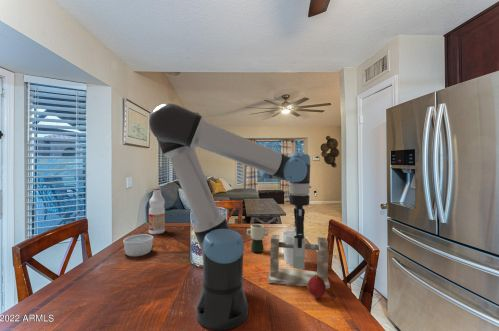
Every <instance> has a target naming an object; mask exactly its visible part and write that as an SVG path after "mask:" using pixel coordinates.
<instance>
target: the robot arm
mask: <svg viewBox="0 0 499 331" xmlns="http://www.w3.org/2000/svg"><path fill="white" fill-rule="evenodd" d="M148 120H149V121H148V122H149V129H150V131H151V133H152V135H153V136H154V137H155V138H156V140H157V142H158V146H159V148H160V149H161V150H160V151H161V153H162V155H163V156H164V157H166V158H168V159H169V161H170V163H171V165H172V167H173V170H174V173H175V175H176V178H177V180H178V183H179V185H180V188H181V190H182V192H183V195H184V197H185V200H186V202H187V205H188V208H189V211H190V212H191V214H192V217H193V220H194V222H195V225H194V227H193V232H194V235H195V238H196V240H197V243H198V244H199V248H200V250H201V256H202V262H203V263H202V264H203V266H202V268H203V269H202V273H203V274H202V288H201V289H202V290H201V293H200V296H199V299H198V301H197V303H196V304H197V305H196V320H197V322H198V323H199V324H200V325H201V326H202V327H204V328H206V329H208V330H212V331H227V330H231V329H234V328H237V327H239V326H240V325H242V324H243V323H244V322H245V321H246V320H247V318H248V315H249V304H248V303H249V302H248V300H247V297H246V292H245V291H244V287H243V280H244V279H243V278H244V277H243V276H244V275H243V274H244V273H243V272H244V269H243V268H244V249H245V248H244V247H245V246H244V240H243V239H244V238H243V237H242V235H241V234H240V233H239V231H238V232H237V231H236V230H233V229H230V226H229V223H228V221H227V218H226V216H225V215H224V214H221V213H220V212H219V210H218V206H217V204H216V202H215V199H214V197H213V194H212V192H211V188H210V186H209V184H208V181H207V178H206V176H205V173H204V171H203V168H202V166H201V163H200V160H199V158H198V156H197V153H196V150H195V149H196V147H198V148H200V149H203V150H205V151H208V152H209V153H210V152H211V153H213V154H216V155H218V156H221V157H224V158H226V159H229V160H231V161H234V162H237V163H239V164H242V165H245V166H247V167H249V168H253V169H254V170H258V172H259V175H260V177H261V178H262V179H265V180H266V179H267V180H270V179H271V180H277V181H284V182H285V181H286V182H289V193H290V194H289V197H288V198H289V201H288V202H289V204H290V205H292V206H295V208H293V216H294V231H295V232H296V236H294V238H296V250H295V256H300V257H303V243H304V237H305V230H304V229H305V225H304V224H305V223H304V222H305V212H306V210H305V208H304V206H305V207H306V206H309V205H310V197H311V196H310V195H309V194H310V189H311V188H312V186H311V184H310V183H311V166H312V165H311V156H310V155H309V154H308V153H291V154H290V156H288V155H286V154H283V153H281V152H278V151H276V150H274V149H272V148H269V147H267V146H265V145H263V144H260V143H257V142H255V141H253V140H251V139H247V138H245V137H243V136H241V135H238V134H236V133H234V132H231V131H229V130H227V129H225V128H222V127H219V126H217V125H215V124H213V123H210V122H208V121H206V120H205V118H204V116H203V115H200V114H198V113H195V112H193V111H192V110H189V109H187V108H185V107H183V106H181V105H178V104H176V103H175V104H174V103H162V104H160V105H159V106H157V107H155V108H154V109H153V111H152V112H151V113H150V116H149V119H148ZM298 234H302V235H298Z"/></svg>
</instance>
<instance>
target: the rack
mask: <svg viewBox="0 0 499 331" xmlns="http://www.w3.org/2000/svg"><path fill="white" fill-rule="evenodd" d="M280 248H294V244H293V243H287V242H282V241H280V234H271V236H270V257H269V258H270V259H269V261H270V262H269V267H270V268H269V272H268V273H269V274H268V279H267V280H268V281H267V283H268V284H270V283H274V284H273V285H280V284H286V285H285V286H291V285H298V286H297V287H301V286H308V282H309V280H310V279H311V278H312V277H314V276H315V274H317V275H318V276H319V277H320V278H322V280H323V281H324V283H325V285H326V288H330V289H331V285H330V284H331V283H330V281H329V279H328V271H329V270H328V265H329V264H328V263H329V242H328V239H327V238H326V237H317V244H315V243H314V244H311V243H305V250H312V251H317V264H316V268H317V269H316V270H317V271H313V270H304V269H291V268H279V267H280V266H279V264H280V263H279V262H280V261H279V260H280V259H279V258H280Z"/></svg>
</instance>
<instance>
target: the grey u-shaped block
mask: <svg viewBox="0 0 499 331" xmlns="http://www.w3.org/2000/svg"><path fill="white" fill-rule="evenodd" d="M298 235H302V234H298ZM294 236H296V232H293V244H294V248H293V265H292V268H293V269H295V270H305V259H306V258H305V255H306V253H305V252H306V249H305V244H306V238H305V236H304V243H303V257H300V256H295V250H296V238H294Z"/></svg>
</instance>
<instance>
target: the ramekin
mask: <svg viewBox="0 0 499 331" xmlns="http://www.w3.org/2000/svg"><path fill="white" fill-rule="evenodd" d="M153 241H154V236H153V234H148V233H147V234H133V235H130V236H128V237H125V238H124V239H123V241H122V244H123V247H124V253H125V255H127V256H128V257H141V256H145V255H148V254H149V253H150V252H151V251H152V246H153Z"/></svg>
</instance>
